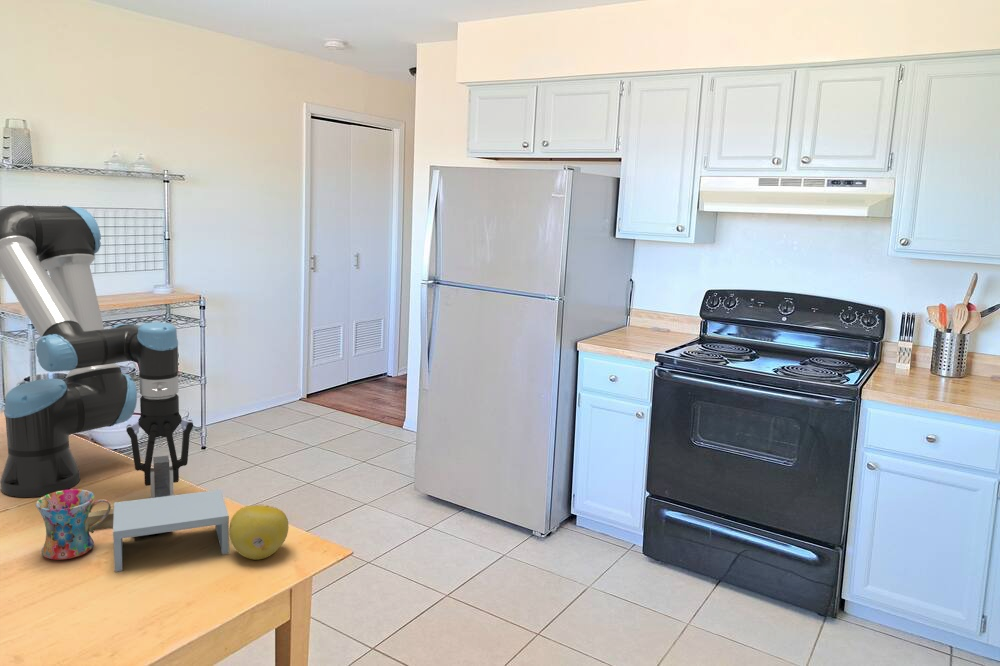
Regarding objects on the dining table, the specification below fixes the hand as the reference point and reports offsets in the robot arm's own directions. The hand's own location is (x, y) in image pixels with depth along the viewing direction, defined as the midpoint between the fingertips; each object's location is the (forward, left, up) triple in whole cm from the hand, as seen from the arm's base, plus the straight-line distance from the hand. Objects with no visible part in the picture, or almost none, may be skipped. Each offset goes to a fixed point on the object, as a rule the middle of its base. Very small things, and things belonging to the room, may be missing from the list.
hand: (162, 496), depth 160 cm
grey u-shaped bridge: (+23, +1, -1) cm, 23 cm away
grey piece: (+8, -2, 0) cm, 8 cm away
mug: (+18, -15, -1) cm, 24 cm away
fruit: (+31, +16, -1) cm, 35 cm away
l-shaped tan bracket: (+9, -13, -1) cm, 16 cm away
